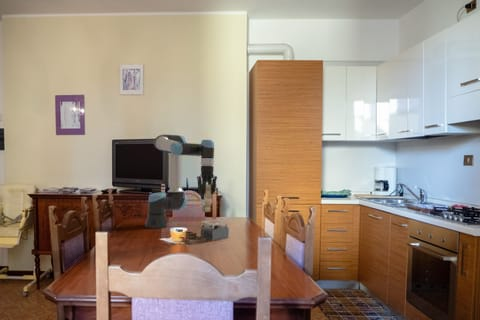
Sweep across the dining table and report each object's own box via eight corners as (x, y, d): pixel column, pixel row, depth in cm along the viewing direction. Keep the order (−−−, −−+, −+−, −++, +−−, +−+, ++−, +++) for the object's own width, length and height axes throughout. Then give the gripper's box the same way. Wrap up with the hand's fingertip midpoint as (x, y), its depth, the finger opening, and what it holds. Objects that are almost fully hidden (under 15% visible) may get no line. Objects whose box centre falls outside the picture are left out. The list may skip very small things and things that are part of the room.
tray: (182, 242, 178) (182, 237, 178) (196, 239, 184) (196, 235, 184) (191, 245, 171) (191, 241, 171) (206, 243, 177) (206, 238, 177)
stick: (202, 211, 187) (202, 184, 187) (207, 210, 189) (207, 184, 190) (205, 212, 184) (206, 184, 185) (210, 211, 187) (210, 184, 187)
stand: (179, 237, 187) (180, 232, 187) (191, 236, 192) (191, 230, 192) (187, 240, 181) (187, 235, 181) (198, 238, 186) (198, 233, 186)
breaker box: (200, 237, 189) (200, 221, 189) (216, 235, 196) (216, 219, 197) (212, 242, 180) (212, 224, 180) (228, 239, 188) (228, 222, 188)
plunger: (210, 226, 188) (210, 222, 188) (215, 225, 191) (215, 221, 191) (214, 227, 185) (214, 223, 185) (219, 226, 188) (219, 222, 188)
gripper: (199, 165, 179) (198, 206, 179) (222, 165, 190) (221, 204, 189) (192, 165, 185) (191, 204, 185) (214, 165, 196) (214, 203, 195)
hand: (206, 204), depth 187 cm, fingers closed on stick, 3 cm apart
